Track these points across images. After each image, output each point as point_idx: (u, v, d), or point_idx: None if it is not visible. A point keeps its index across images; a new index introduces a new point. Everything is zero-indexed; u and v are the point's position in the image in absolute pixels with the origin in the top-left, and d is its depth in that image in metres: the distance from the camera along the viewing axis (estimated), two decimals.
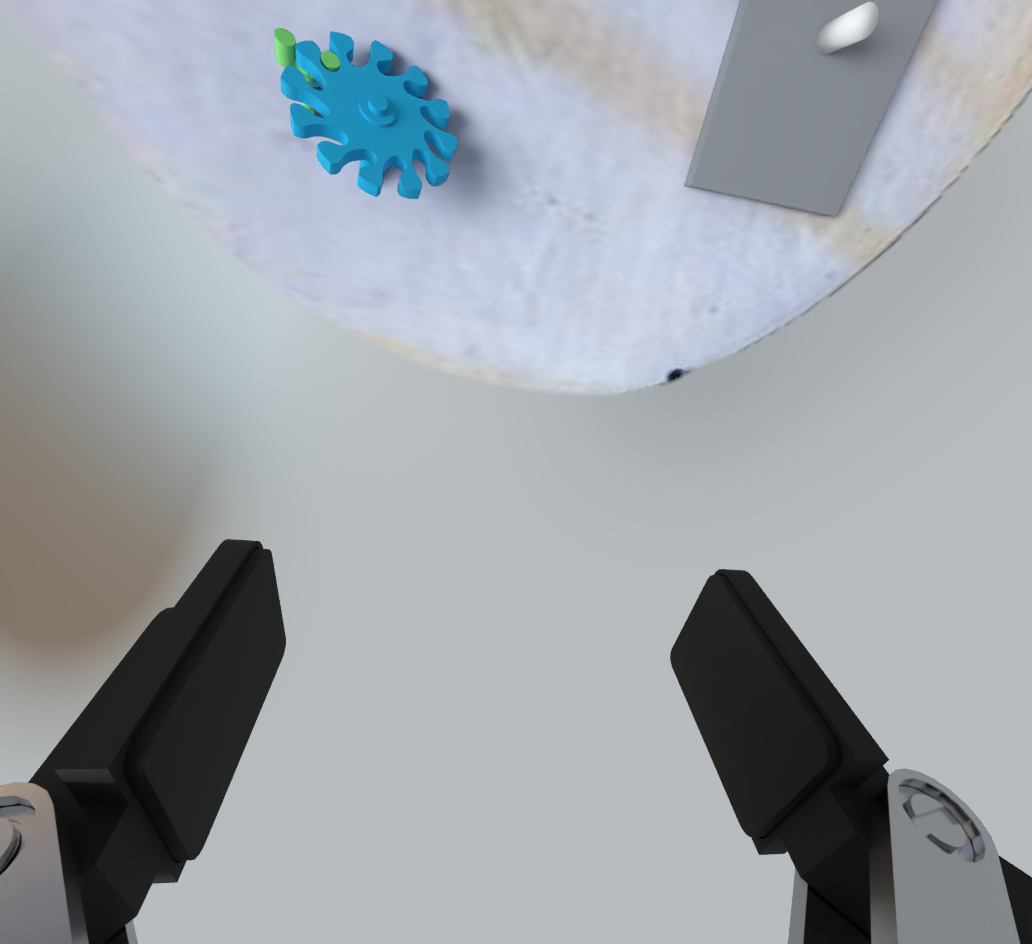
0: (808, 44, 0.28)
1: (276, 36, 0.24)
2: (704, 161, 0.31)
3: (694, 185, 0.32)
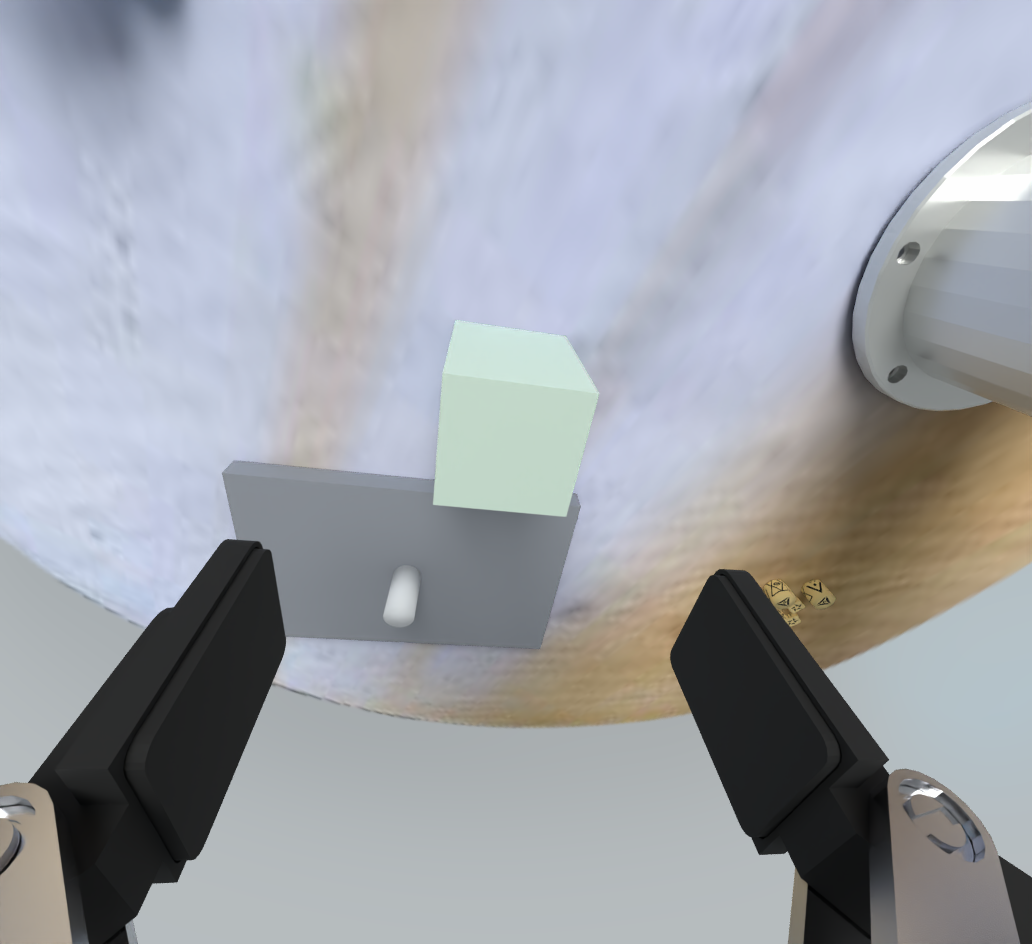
0: (398, 560, 0.25)
1: None
2: (256, 483, 0.22)
3: None
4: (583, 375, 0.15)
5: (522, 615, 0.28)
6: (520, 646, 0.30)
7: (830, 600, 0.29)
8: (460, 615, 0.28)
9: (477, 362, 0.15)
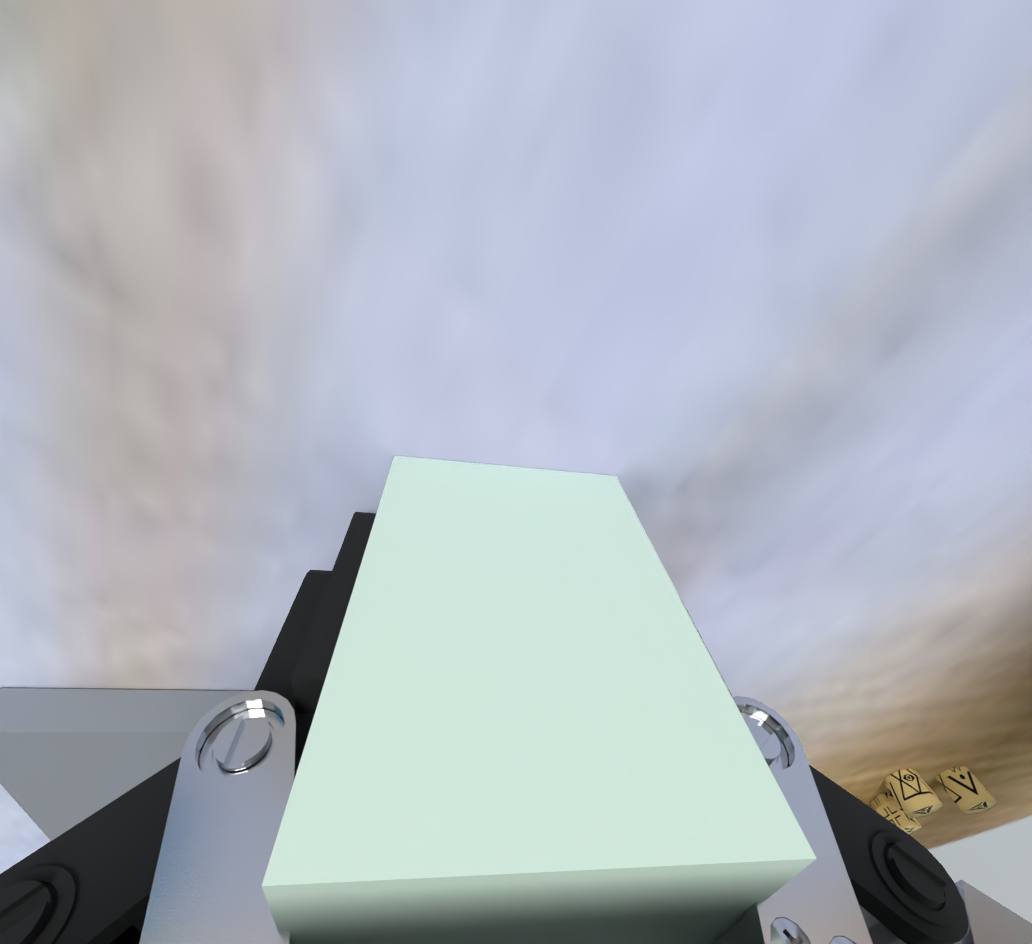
0: None
1: None
2: (30, 741, 0.12)
3: None
4: (718, 699, 0.06)
5: None
6: None
7: (988, 804, 0.19)
8: None
9: (416, 705, 0.05)
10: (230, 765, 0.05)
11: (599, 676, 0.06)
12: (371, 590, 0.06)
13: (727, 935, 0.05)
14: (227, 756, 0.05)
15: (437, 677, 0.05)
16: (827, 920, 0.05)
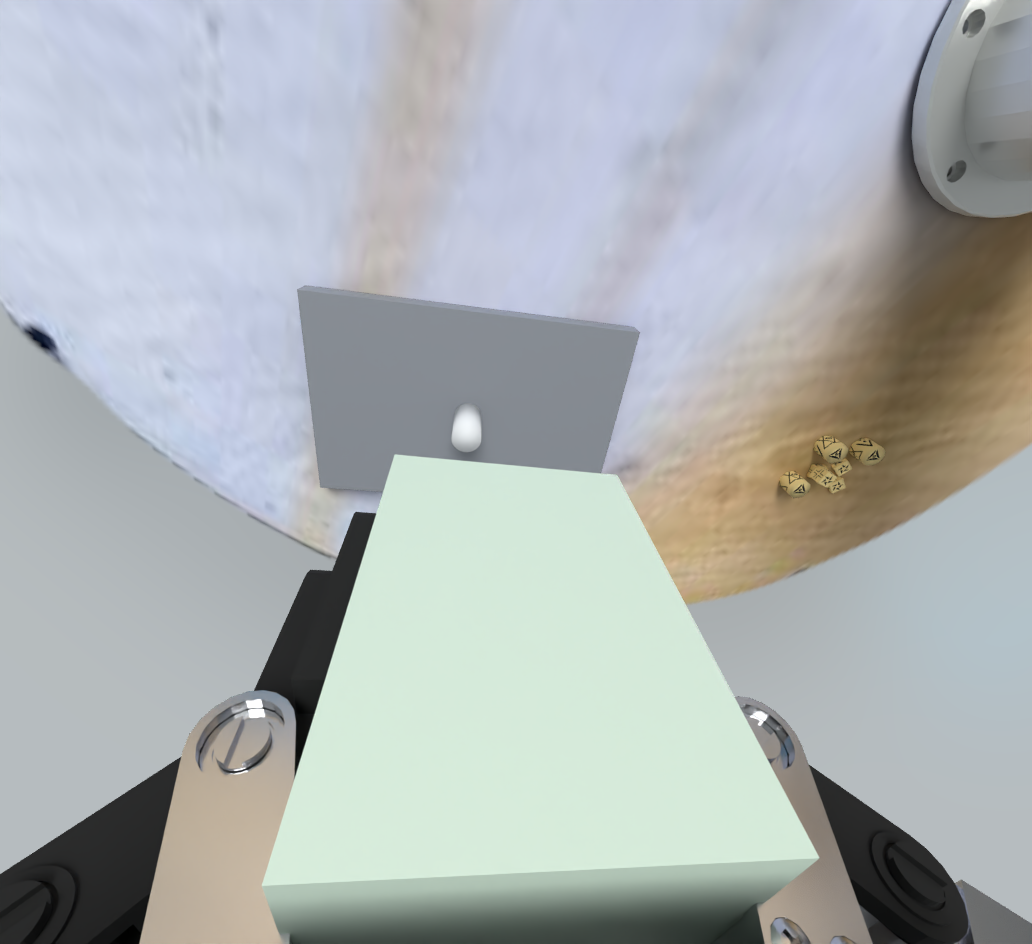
0: (460, 396, 0.26)
1: None
2: (329, 302, 0.23)
3: (299, 295, 0.22)
4: (719, 698, 0.06)
5: (576, 465, 0.29)
6: None
7: (880, 455, 0.30)
8: (516, 464, 0.28)
9: (417, 704, 0.05)
10: (230, 765, 0.05)
11: (600, 675, 0.06)
12: (371, 589, 0.06)
13: (727, 935, 0.05)
14: (227, 756, 0.05)
15: (438, 676, 0.05)
16: (826, 920, 0.05)
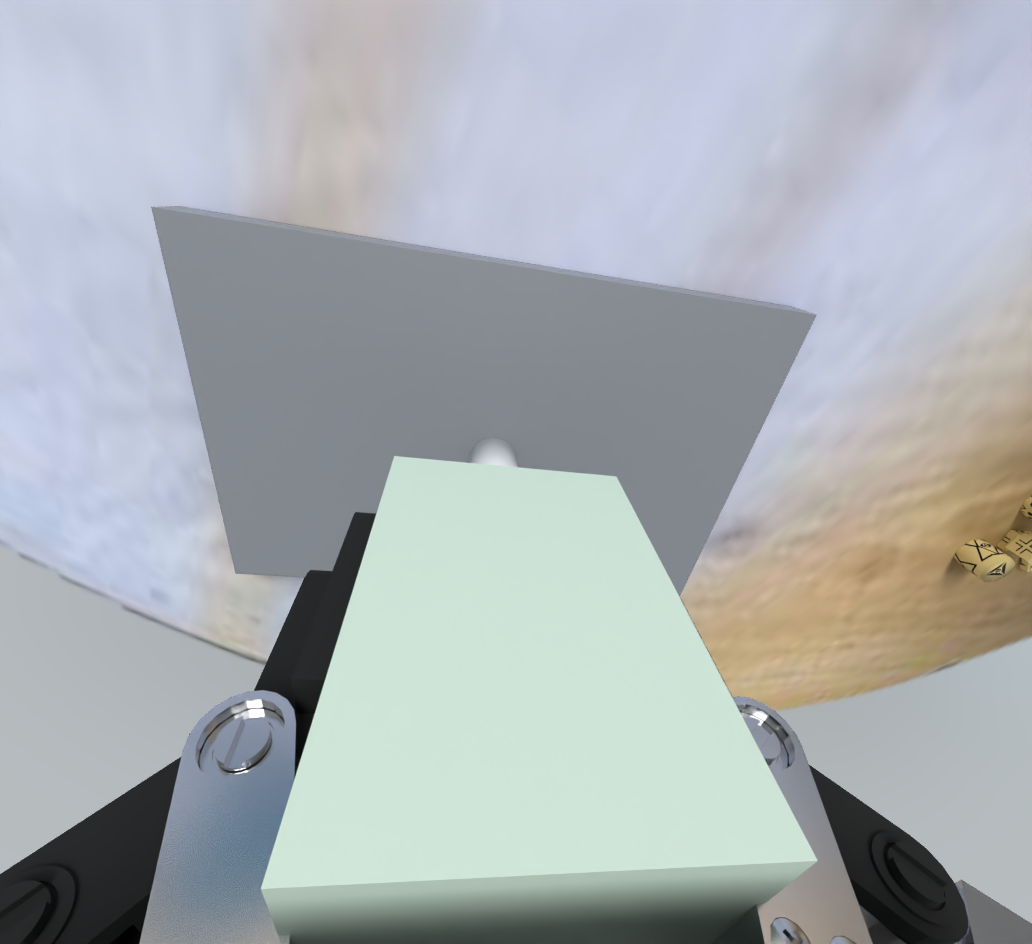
0: (480, 426, 0.14)
1: None
2: (222, 237, 0.11)
3: (159, 221, 0.11)
4: (718, 700, 0.06)
5: (666, 537, 0.17)
6: None
7: None
8: None
9: (416, 706, 0.05)
10: (230, 765, 0.05)
11: (599, 677, 0.06)
12: (371, 591, 0.06)
13: (727, 935, 0.05)
14: (227, 756, 0.05)
15: (437, 678, 0.05)
16: (826, 919, 0.05)
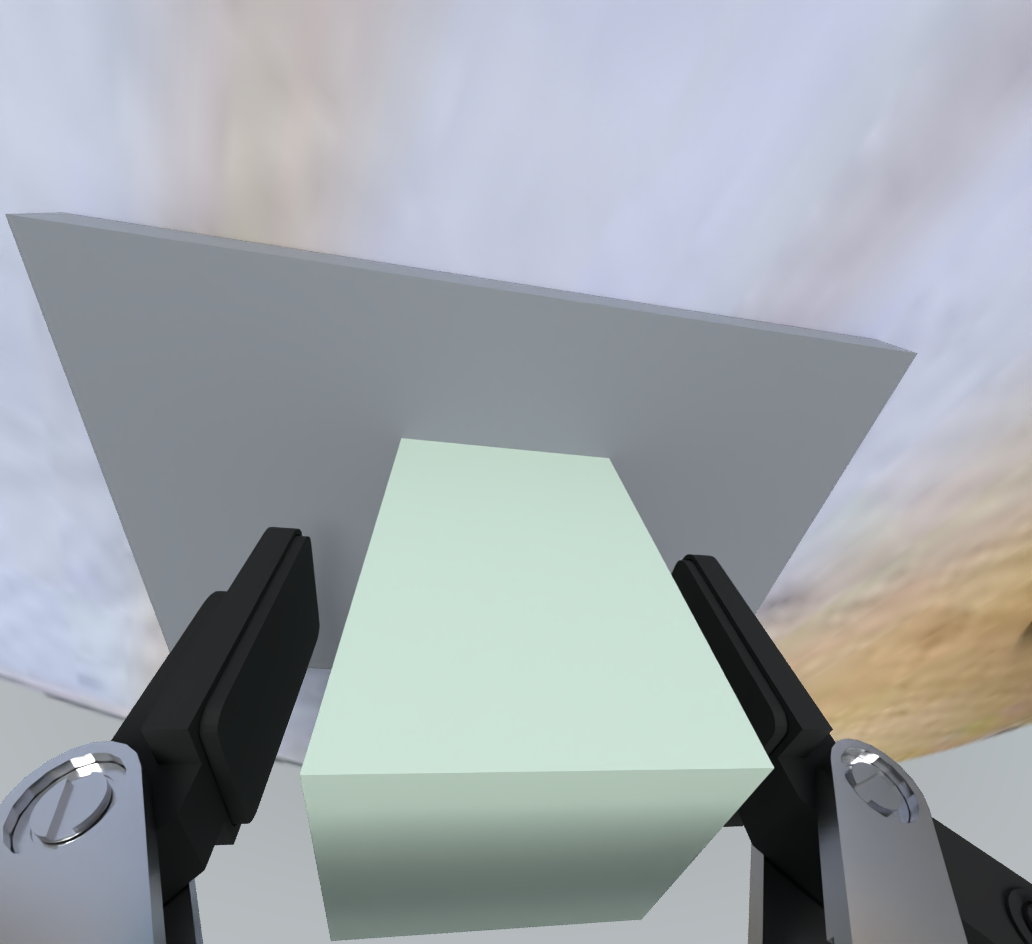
0: None
1: None
2: (113, 256, 0.08)
3: (21, 233, 0.08)
4: (695, 644, 0.06)
5: None
6: None
7: None
8: None
9: (426, 644, 0.06)
10: (59, 836, 0.05)
11: (589, 624, 0.06)
12: (384, 551, 0.07)
13: None
14: (52, 827, 0.05)
15: (444, 622, 0.06)
16: None
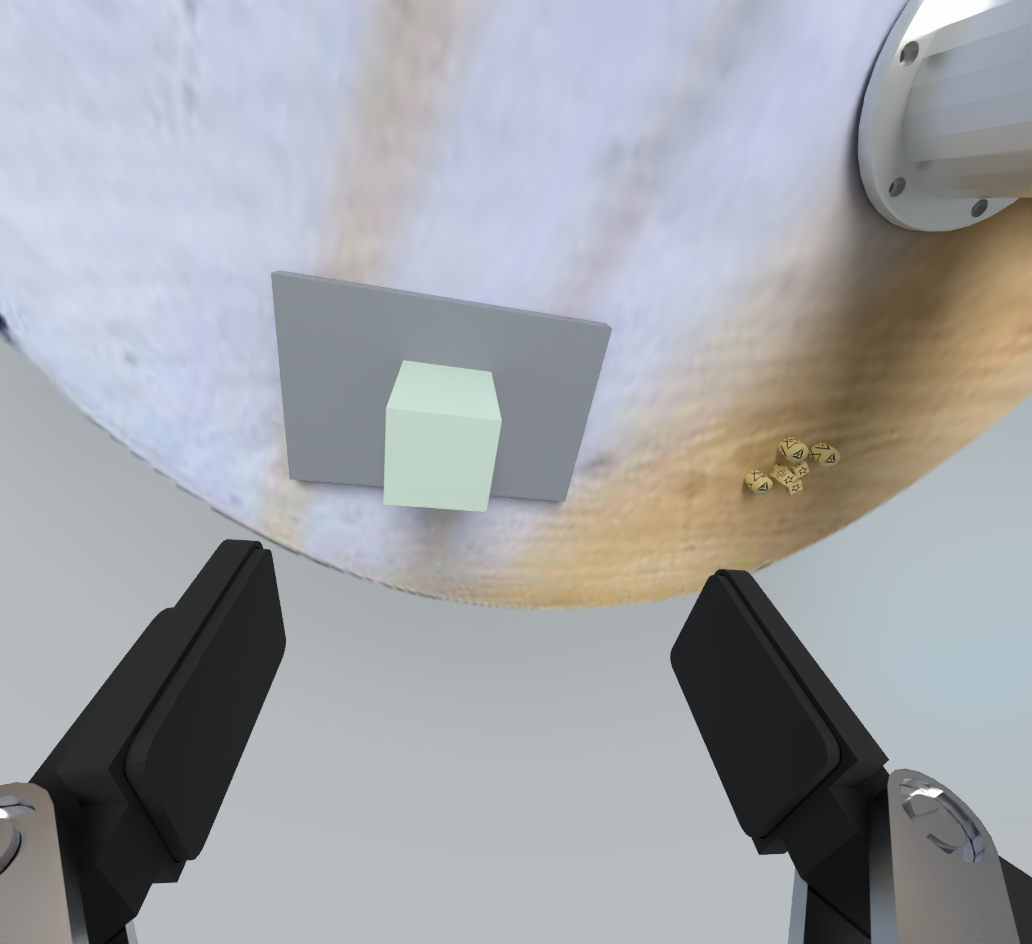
0: None
1: None
2: (303, 287, 0.22)
3: (273, 279, 0.22)
4: (494, 406, 0.21)
5: (550, 459, 0.29)
6: (546, 498, 0.31)
7: (836, 458, 0.32)
8: None
9: (414, 398, 0.20)
10: None
11: (462, 400, 0.21)
12: (400, 383, 0.21)
13: None
14: None
15: (419, 396, 0.21)
16: None
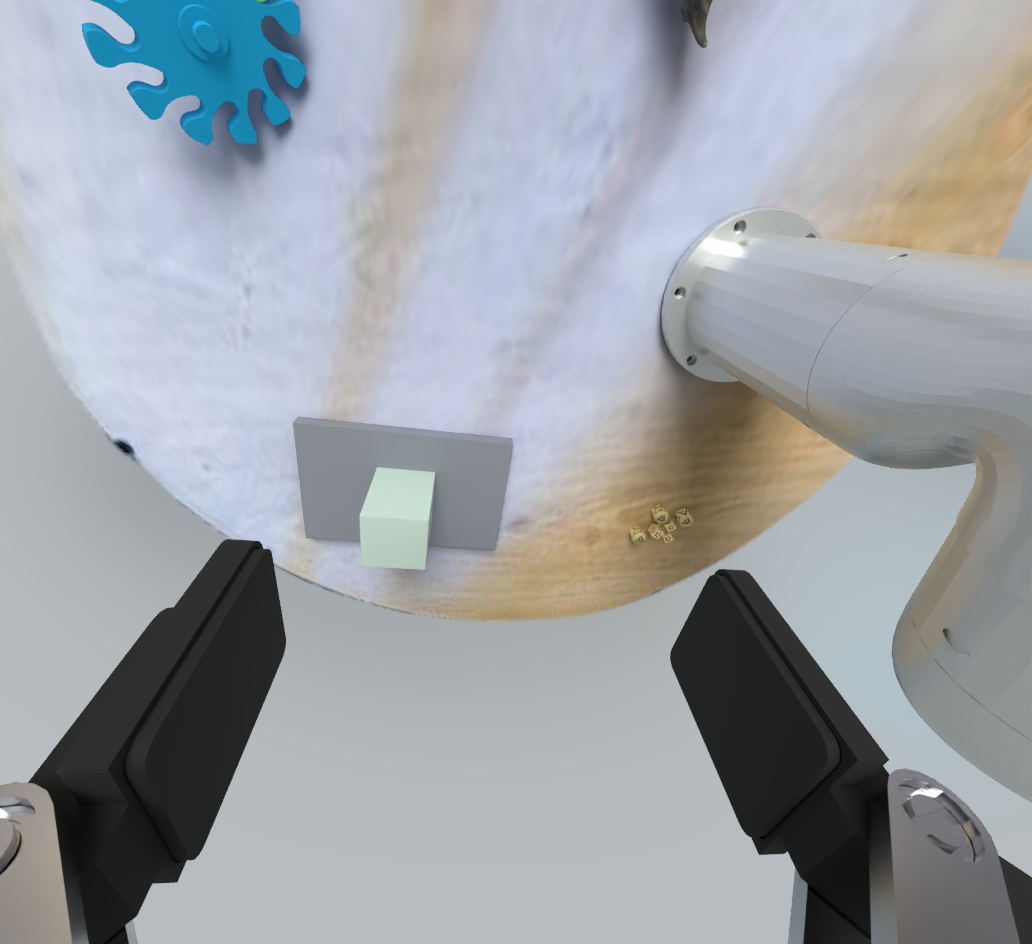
0: None
1: None
2: (313, 429, 0.36)
3: (294, 425, 0.36)
4: (427, 507, 0.34)
5: (481, 523, 0.42)
6: (481, 547, 0.44)
7: (690, 521, 0.44)
8: (440, 523, 0.42)
9: (378, 505, 0.34)
10: None
11: (408, 504, 0.34)
12: (371, 492, 0.35)
13: None
14: None
15: (381, 502, 0.34)
16: None
